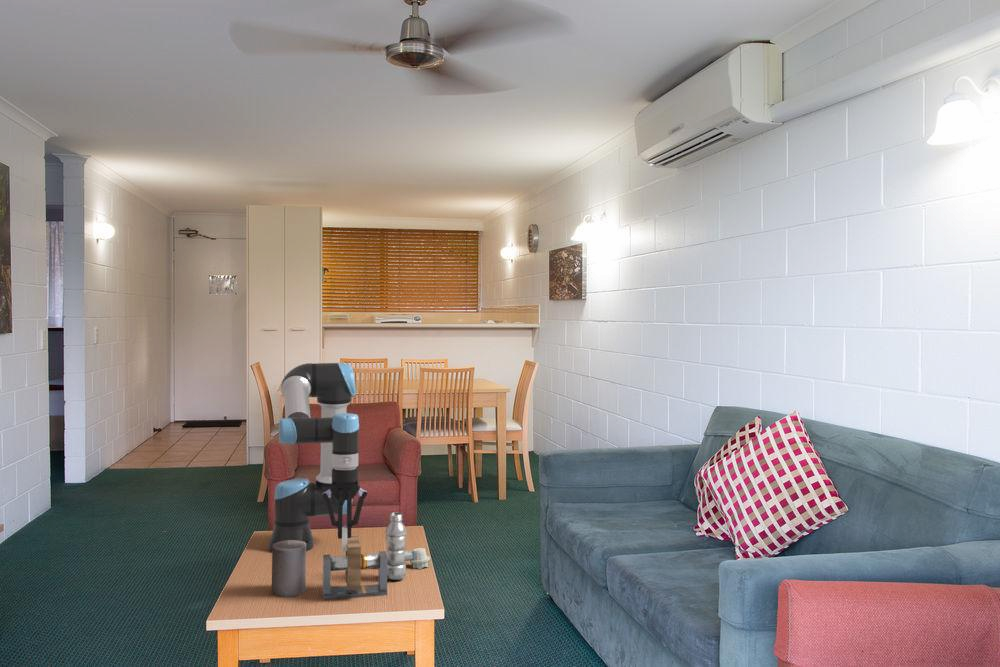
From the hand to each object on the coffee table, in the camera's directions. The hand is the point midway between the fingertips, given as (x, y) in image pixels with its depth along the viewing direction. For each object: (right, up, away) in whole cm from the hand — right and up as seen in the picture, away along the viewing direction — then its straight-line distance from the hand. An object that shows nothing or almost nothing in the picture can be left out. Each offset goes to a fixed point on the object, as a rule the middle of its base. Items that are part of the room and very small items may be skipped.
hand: (344, 549), depth 225 cm
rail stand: (+3, -13, +1) cm, 13 cm away
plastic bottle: (+13, -13, +14) cm, 23 cm away
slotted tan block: (+2, -10, +1) cm, 10 cm away
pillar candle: (-17, -13, +2) cm, 21 cm away
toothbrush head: (+10, -13, +26) cm, 31 cm away
